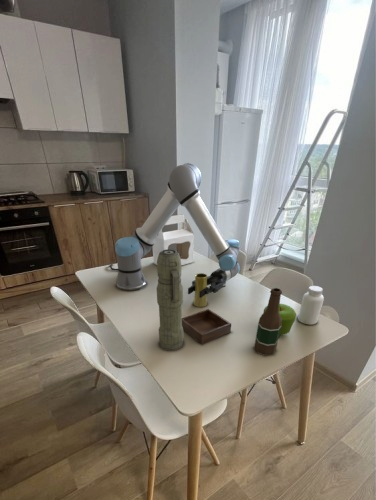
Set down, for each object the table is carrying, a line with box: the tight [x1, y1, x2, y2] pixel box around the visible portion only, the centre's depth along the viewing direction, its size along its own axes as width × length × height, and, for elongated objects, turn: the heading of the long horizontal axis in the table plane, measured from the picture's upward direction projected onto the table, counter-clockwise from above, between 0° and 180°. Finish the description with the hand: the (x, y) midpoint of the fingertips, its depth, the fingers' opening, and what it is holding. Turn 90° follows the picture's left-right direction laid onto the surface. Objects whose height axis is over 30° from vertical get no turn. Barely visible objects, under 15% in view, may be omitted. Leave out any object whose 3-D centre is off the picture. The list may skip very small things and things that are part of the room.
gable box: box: [151, 213, 195, 266], centre depth 173 cm, size 22×13×28 cm, turn 126°
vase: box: [193, 272, 208, 308], centre depth 131 cm, size 6×6×14 cm
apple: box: [262, 303, 297, 336], centre depth 113 cm, size 12×12×11 cm
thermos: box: [156, 248, 184, 352], centre depth 98 cm, size 9×12×35 cm
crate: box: [182, 308, 232, 345], centre depth 115 cm, size 15×15×4 cm
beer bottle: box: [254, 287, 283, 356], centre depth 99 cm, size 8×8×24 cm
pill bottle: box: [297, 285, 325, 326], centre depth 119 cm, size 8×8×15 cm
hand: (194, 293), depth 127 cm, fingers closed on vase, 5 cm apart
